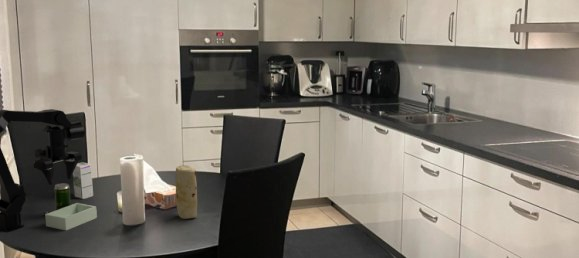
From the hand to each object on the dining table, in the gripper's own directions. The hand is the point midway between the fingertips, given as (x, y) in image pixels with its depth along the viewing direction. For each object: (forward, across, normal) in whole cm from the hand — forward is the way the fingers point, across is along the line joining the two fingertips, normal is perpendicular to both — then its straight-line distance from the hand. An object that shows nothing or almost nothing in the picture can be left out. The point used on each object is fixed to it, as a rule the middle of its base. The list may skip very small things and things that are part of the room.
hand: (59, 181), depth 214 cm
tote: (+13, +5, +10) cm, 17 cm away
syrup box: (+13, -21, -9) cm, 26 cm away
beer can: (+13, 0, +2) cm, 13 cm away
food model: (+13, -17, +46) cm, 51 cm away
